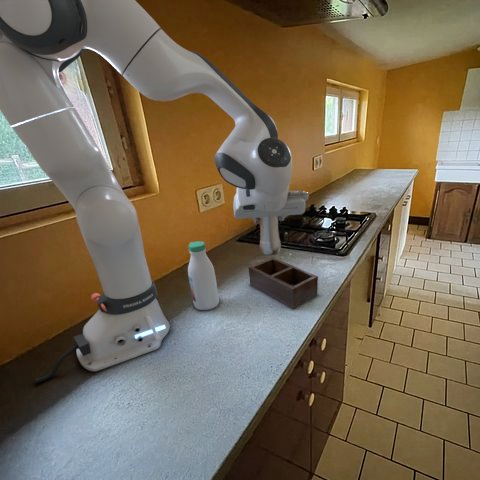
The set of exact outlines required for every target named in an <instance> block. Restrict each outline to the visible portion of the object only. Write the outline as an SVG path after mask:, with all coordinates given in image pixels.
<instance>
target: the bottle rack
mask: <svg viewBox="0 0 480 480" xmlns="http://www.w3.org/2000/svg"><path fill="white" fill-rule="evenodd" d="M248 274H249V275H248V276H249V286H250V287H252V288H254V289H255V290H257V291H259V292H261V293H263V294H264V295H267V296H268V297H270V298H272V299H273V300H275V301H276V302H279V303H281V304H282V305H284V306H286V307H288V308H290V309H291V310H295V309H297V308H298V307H300V306H302V305H304V304H306V303H307V302H309V301H311V300H312V299H315V297H317V296H318V291H319V290H318V285H319V276H318V275H316V274H313V273H311V272H309V271H306V270H305V269H302V268H300V267H297V266H294V265H293V264H290V263H287V262H285V261H283V260H280V259H278V258H276V257H270V258H268V259H266V260H263V261H260V262H258V263H256V264H254V265H251V266H248Z"/></svg>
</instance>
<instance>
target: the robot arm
mask: <svg viewBox="0 0 480 480" xmlns="http://www.w3.org/2000/svg"><path fill="white" fill-rule="evenodd" d="M0 32H1V34H2V37H1V38H0V112H1V113H2V115H3V117H4V118H5V120H6V122H7V123H8V124H9V126H10V127H11V129H12V130H13V131H14V133H15V134H16V135H17V137H18V139H19V140H20V141H21V143H22V144H23V145H24V147H25V148H26V149H27V151H28V152H29V154H30V155H31V157H32V158H33V159H34V160H35V162H36V163H37V165H38V166H39V168H40V169H41V170H42V171H43V173H44V174H45V175H46V176H47V177H48V178H49V179H50V180H51V182H52V183H53V184H54V185H55V186H56V188H57V189H58V190H59V192H61V194H62V195H63V196H64V198H65V199H66V201H68V203H69V204H70V205H71V207H72V208H73V210H74V212H75V218H76V223H77V226H78V228H79V231H80V233H81V236H82V238H83V241H84V244H85V247H86V249H87V251H88V254H89V257H90V258H91V261H92V263H93V266H94V269H95V272H96V275H97V278H98V280H99V282H100V286H101V288H102V291H103V292H102V293H101V294H100V293H98V292H94V293H93V294H91V296H90V299H91V300H92V302H93V303H95V304H97V306H98V310H97V311H96V312H95V314H93V316H92V317H91V318H90V319H89V320H88V321H87V322H86V323H85V324H84V326H83V328H82V333H79V334H78V335H75V336H73V340H74V342H75V343H74V344H75V345H74V346H72V347H71V348H69V349H68V350H66V351H65V352H64V353H63V354H62V355H61V356H60V357H59V358H58V359H57V360H56V361H55V363H54V365H53V367H52V369H51V370H50V372H48V373H47V374H46V375H43V376H40V377H38V378H36V379H34V381H35V383H36V384H39V383H42V382H44V381H47V380H49V379H50V378H51V377H53V376H54V375H55V374H56V373H57V371H58V369H59V368H60V365H61V364H62V363H63V361H64V360H65V359H66V358H68V357H69V356H70V355H72V354H73V353H74V352H75V351H76V356H77V360H78V362H79V364H80V366H82V367H83V368H84V369H86V370H87V371H90V372H98V371H102V370H105V369H108V368H109V367H112V366H115V365H118V364H121V363H123V362H126V361H129V360H132V359H134V358H137V357H140V356H143V355H145V354H147V353H151V352H153V351H156V350H158V349H160V347H161V344H162V342H163V339H165V337H166V336H167V335H168V333H169V331H170V328H171V326H170V322H169V321H168V319H167V318H166V316H165V315H164V312H163V311H162V308H161V306H160V304H159V294H158V291H157V287H156V285H155V282H154V281H153V280H152V278H151V272H150V270H149V265H148V263H147V258H146V254H145V249H144V241H143V236H142V231H141V225H140V221H139V217H138V212H137V209H136V208H135V206H134V204H133V202H132V201H131V200H130V199H129V197H127V195H126V193H125V192H124V190H123V188H122V187H121V185H120V184H119V182H118V180H117V178H116V176H115V175H114V173H113V171H112V170H111V168H110V166H109V164H108V162H107V161H106V159H105V157H104V155H103V153H102V151H101V150H100V148H99V146H98V144H97V143H96V141H95V140H94V138H93V136H92V134H91V132H90V131H89V129H88V127H87V126H86V124H85V122H84V121H83V119H82V117H81V115H80V114H79V112H78V111H77V109H76V107H75V105H74V104H73V102H72V101H71V99H70V97H69V96H68V93H67V92H66V90H65V88H64V86H63V84H62V81H61V78H60V76H59V75H60V74H59V73H62V72H63V71H64V70H66V68H68V67H69V66H70V65H71V64H72V63H74V62H75V61H77V60H78V59H79V58H80V56H81V55H82V54H83V52H84V51H85V49H88V50H91V51H94V52H96V53H97V54H98V55H100V56H101V57H102V58H104V59H105V60H106V61H107V62H108V63H109V64H110V65H111V66H112V67H113V68H114V69H115V70H116V71H117V72H118V73H119V74H120V75H121V76H122V77H123V78H124V79H125V80H126V81H127V82H128V83H129V84H130V85H131V86H132V87H133V88H134V89H135V90H136V91H137V92H139V93H140V95H143V96H144V97H145V98H147V99H150V100H152V101H156V102H170V101H176V100H178V99H180V98H183V97H185V96H188V95H191V94H201V95H205V96H206V97H208V98H209V99H210V100H212V101H213V102H214V103H215V104H216V105H217V106H218V107H219V108H220V109H222V110H223V112H225V113H226V114H227V115H228V116H230V117H231V118H232V119H233V121H234V124H235V125H234V127H233V129H232V130H231V132H230V133H229V134H228V136H227V138H225V140H224V141H223V143H222V144H221V145H220V147H219V148H218V150H217V152H216V153H215V154H214V164H215V167H216V170H217V172H218V173H219V176H220V177H221V178H222V179H223V180H224V181H225V182H226V183H227V184H229V185H231V186H233V187H235V188H236V190H235V191H236V192H235V195H234V196H233V199H232V200H233V201H232V208H233V217H234V219H236V220H244V219H245V220H246V219H251V220H253V222H254V223H255V224H256V223H260V221H259V217H273V216H278V222H281V221H283V222H284V220H285V218H287V217H288V216H297V215H303V214H304V213H306V210H307V209H306V208H307V207H306V206H307V204H306V202H307V201H308V200H309V197H310V193H309V192H308V191H307V192H306V191H304V190H290V183H291V180H292V175H293V158H292V153H291V150H290V148H289V147H288V145H287V144H286V143H285V142H284V141H283V140H281V139H280V138H279V133H278V129H277V125H276V123H275V121H274V119H273V118H272V117H271V115H269V114H268V113H267V112H265V111H264V109H261V108H260V107H258V106H257V105H256V104H255V103H253V101H251V99H250V98H248V97H247V96H246V95H245V94H244V93H243V91H241V90H240V89H239V88H238V87H237V85H235V84H234V83H233V82H232V81H231V80H230V79H229V78H228V77H227V76H226V75H225V74H224V73H223V72H222V71H221V70H220V69H219V68H218V67H217V66H216V65H215V64H213V63H212V62H211V60H209V59H208V58H206V56H204V55H203V54H201V53H199V52H197V51H195V50H188V49H186V48H184V47H182V46H181V45H180V44H178V43H177V42H176V41H174V40H173V39H172V38H171V37H170V36H169V35H168V34H167V33H166V32H165V30H163V29H162V27H161V26H160V25H159V24H158V23H157V22H156V20H155V19H154V18H153V17H152V16H151V15H150V14H149V13H148V12H147V11H146V9H144V8H143V6H141V5H140V3H138V2H137V0H0Z"/></svg>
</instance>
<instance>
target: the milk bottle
mask: <svg viewBox="0 0 480 480" xmlns="http://www.w3.org/2000/svg"><path fill="white" fill-rule="evenodd" d="M187 247H188V252H189V254H190V259H189V262H188V266H187V275H188V277H187V278H188V281H189V288H190V292H191V298H192V304H193V306H194V308H195V309H197V310H200V311H209V310H212V309H214V308H216V307H217V306H218V304H219V302H220V299H219V297H220V296H219V291H218V285H217V284H218V283H217V278H216V272H215V268H214V265H213V263H212V261H211V260H210V259H209V257H208V255H207V253H206V251H207V249H206V244H205V242H204V241H200V240H198V241H192V242H189V244H188V245H187Z"/></svg>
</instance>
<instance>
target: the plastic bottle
mask: <svg viewBox="0 0 480 480" xmlns="http://www.w3.org/2000/svg"><path fill="white" fill-rule="evenodd" d="M259 227H260V232H259V233H260V234H259V235H260V237H259V238H260V239H259V250H260V252H261V253H262V255H265V256H275V255H278V254H279V253H281V252H280V251H281V249H282V242H281V239H280V233H279V232H280V231H279V218H278V216H273V217H259Z"/></svg>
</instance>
